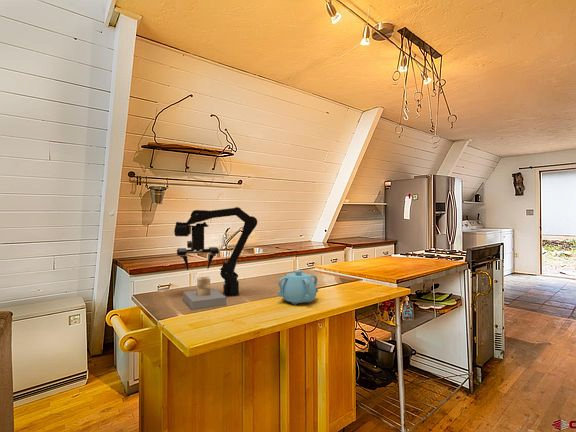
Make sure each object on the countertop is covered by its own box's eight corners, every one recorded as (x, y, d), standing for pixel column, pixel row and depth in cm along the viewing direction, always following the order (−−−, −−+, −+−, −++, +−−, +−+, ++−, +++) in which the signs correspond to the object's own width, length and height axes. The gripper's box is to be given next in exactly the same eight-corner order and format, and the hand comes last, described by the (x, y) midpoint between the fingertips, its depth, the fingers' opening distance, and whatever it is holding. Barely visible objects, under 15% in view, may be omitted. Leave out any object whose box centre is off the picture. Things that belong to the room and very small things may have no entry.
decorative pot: (272, 303, 137) (273, 271, 137) (290, 294, 151) (290, 266, 151) (307, 308, 129) (307, 275, 129) (322, 299, 143) (322, 269, 143)
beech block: (208, 292, 140) (208, 276, 140) (210, 295, 136) (210, 278, 136) (197, 293, 139) (197, 277, 139) (198, 296, 134) (198, 279, 134)
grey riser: (213, 296, 148) (213, 288, 148) (226, 306, 133) (226, 297, 133) (183, 300, 141) (183, 291, 141) (192, 311, 126) (192, 301, 126)
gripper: (215, 235, 161) (214, 265, 161) (176, 235, 153) (176, 268, 153) (219, 236, 150) (218, 269, 150) (177, 237, 143) (177, 271, 143)
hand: (197, 269), depth 150 cm, fingers open, 9 cm apart
